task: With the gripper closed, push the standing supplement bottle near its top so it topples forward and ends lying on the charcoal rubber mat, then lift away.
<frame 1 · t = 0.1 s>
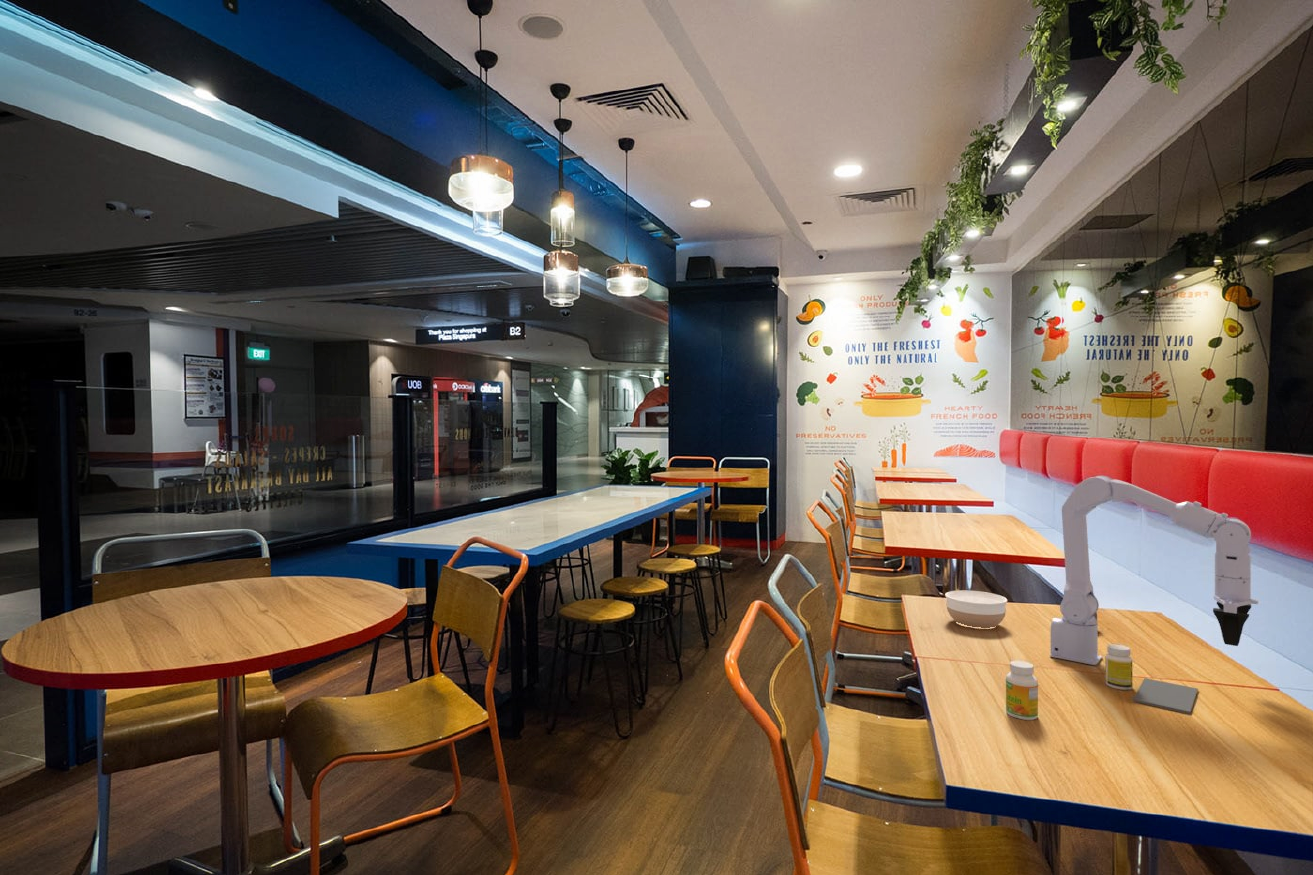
hand: (1232, 640, 139), 10 cm above the table, tool pointing down, fingers open, 7 cm apart
supplement bottle: (1118, 687, 141), on the table
supplement bottle 2: (1021, 715, 126), on the table
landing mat: (1166, 696, 135), on the table
bowl: (975, 625, 188), on the table
vase: (1082, 628, 184), on the table
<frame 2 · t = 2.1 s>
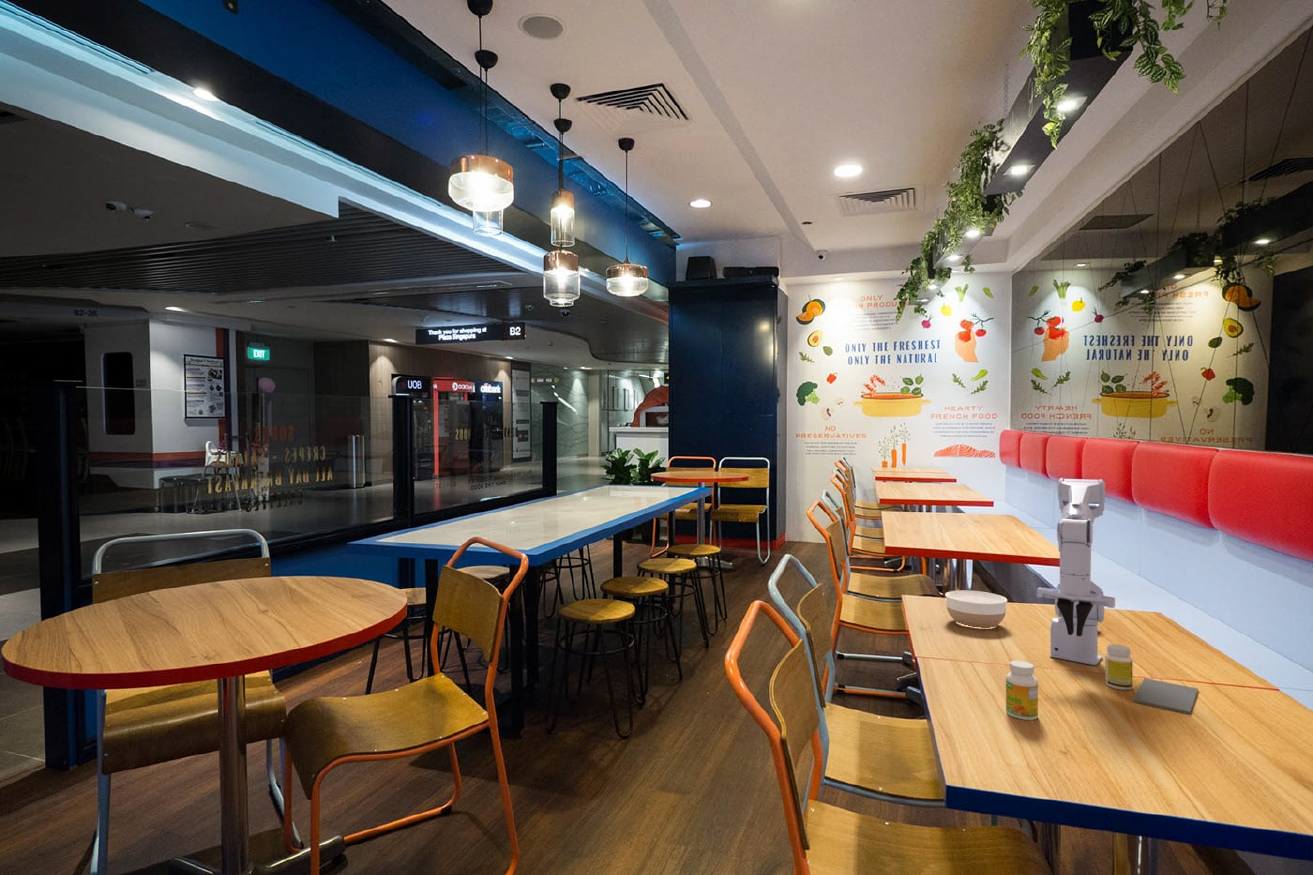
hand: (1075, 634, 146), 9 cm above the table, tool pointing down, fingers closed
nothing on the table moved.
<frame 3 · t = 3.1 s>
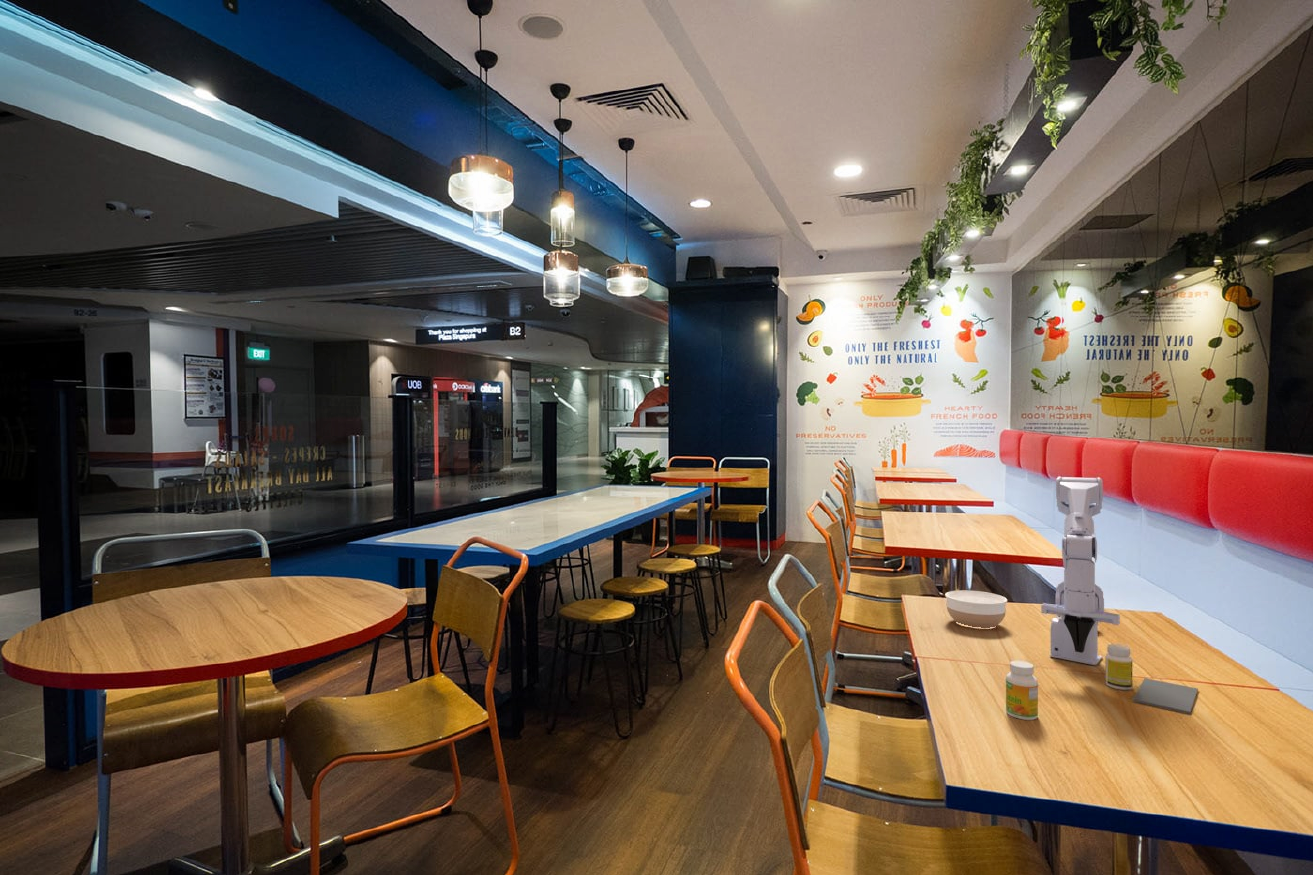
hand: (1079, 651, 146), 6 cm above the table, tool pointing down, fingers closed
nothing on the table moved.
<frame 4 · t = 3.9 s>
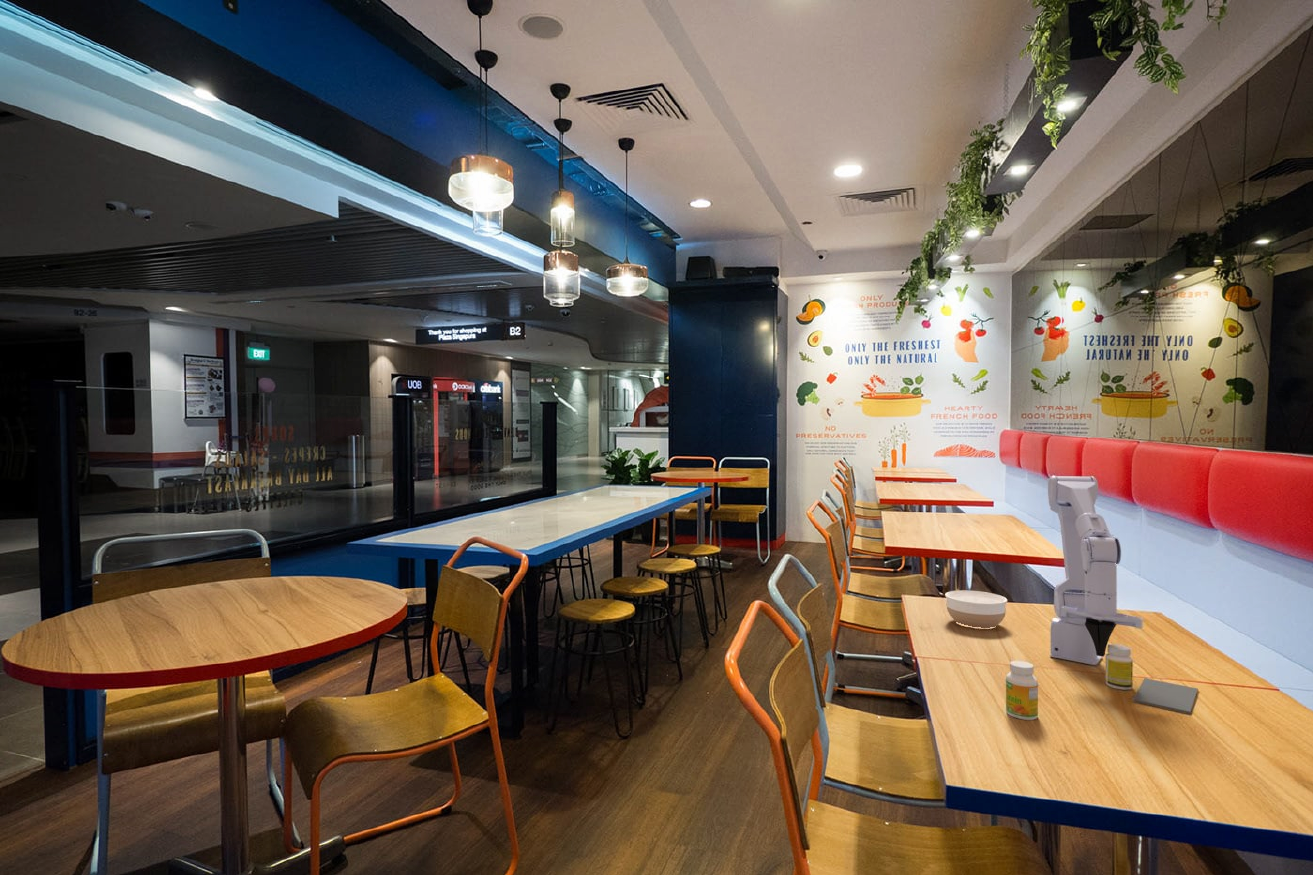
hand: (1100, 655, 143), 6 cm above the table, tool pointing down, fingers closed
supplement bottle: (1118, 687, 141), on the table, touching gripper
everything else where it was.
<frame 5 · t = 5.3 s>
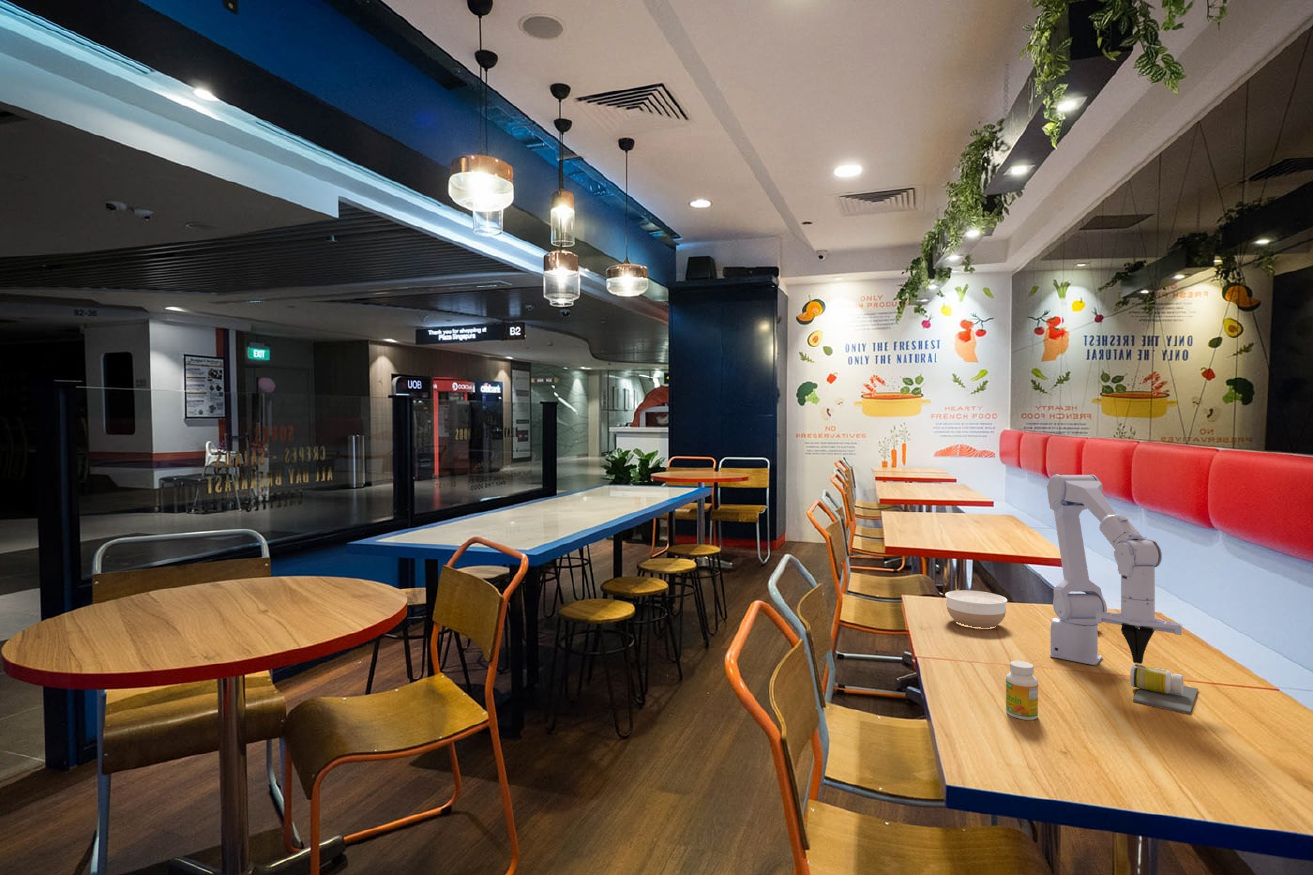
hand: (1137, 662, 138), 6 cm above the table, tool pointing down, fingers closed
supplement bottle: (1130, 674, 140), point 3 cm above the table, touching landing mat
everything else where it was.
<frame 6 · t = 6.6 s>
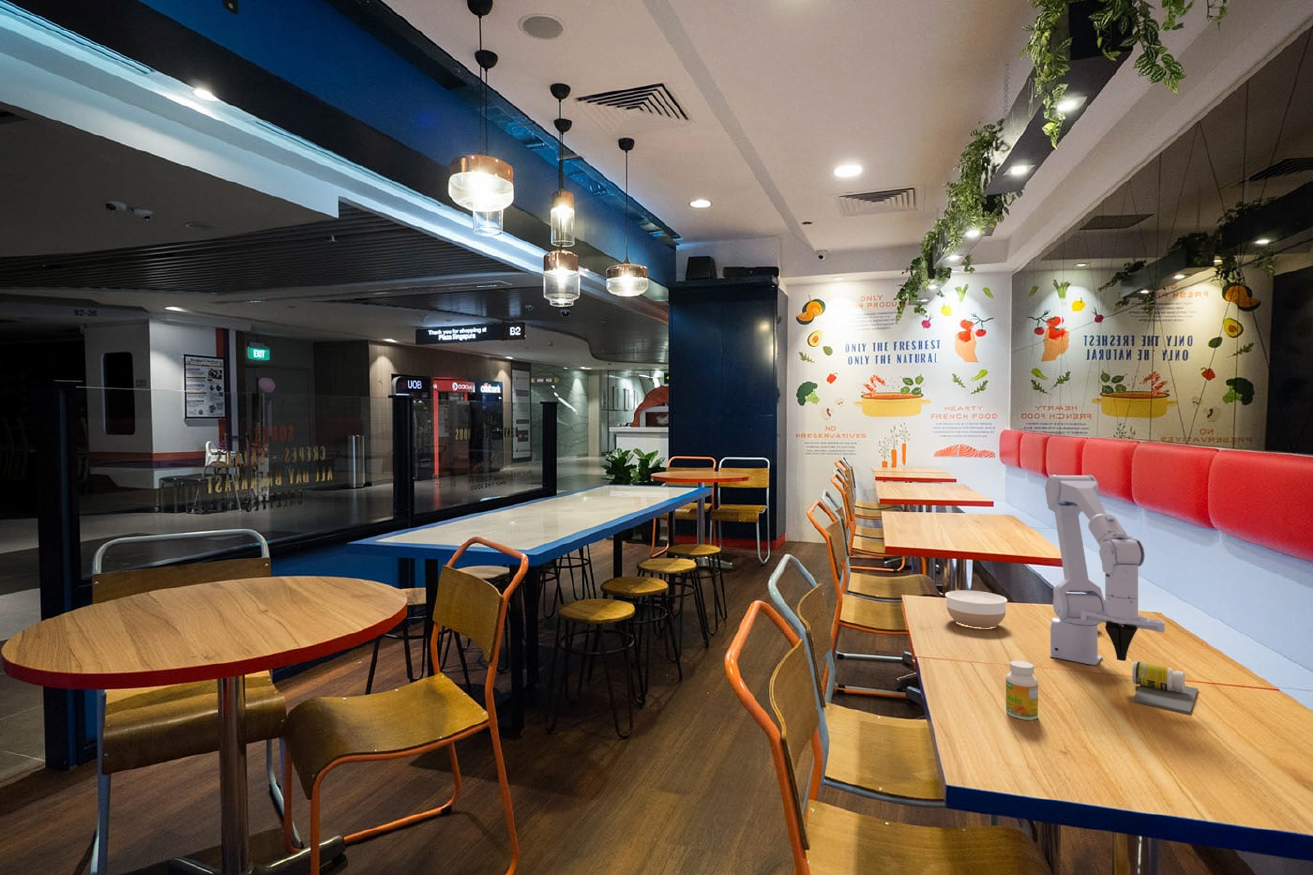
hand: (1121, 659, 140), 6 cm above the table, tool pointing down, fingers closed
supplement bottle: (1132, 672, 141), point 3 cm above the table, touching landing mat
everything else where it was.
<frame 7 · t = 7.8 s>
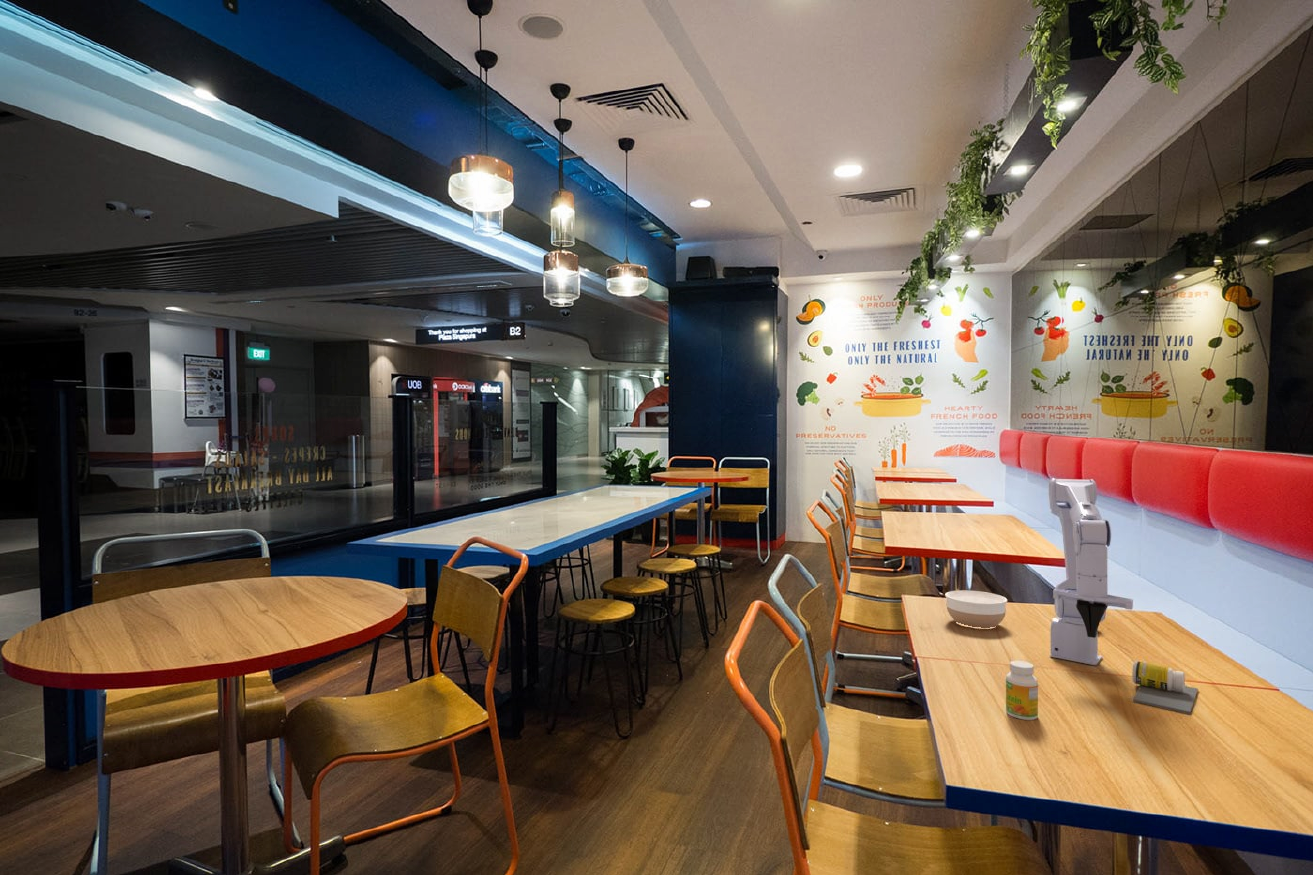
hand: (1092, 636, 145), 9 cm above the table, tool pointing down, fingers closed
nothing on the table moved.
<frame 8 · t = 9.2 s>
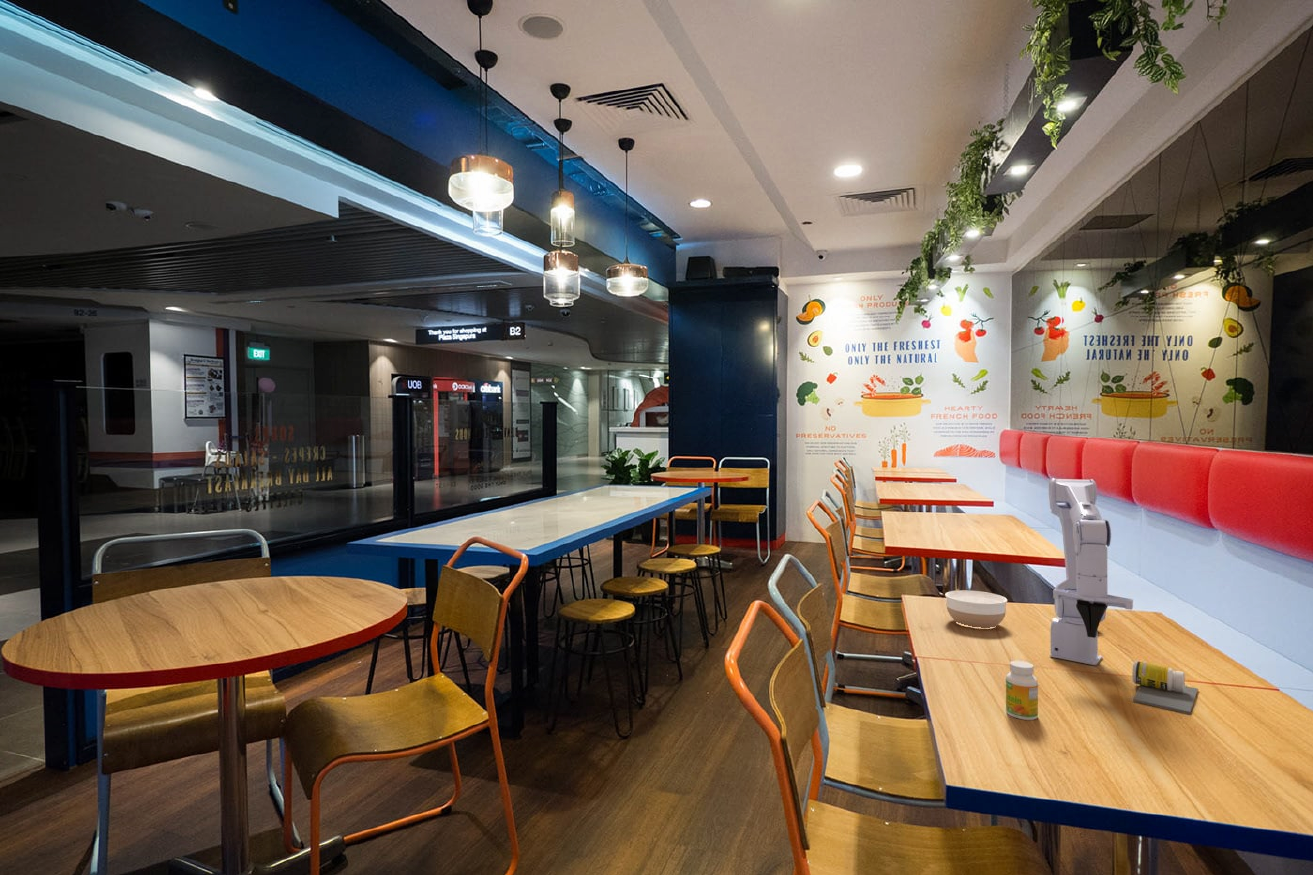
hand: (1092, 636, 145), 9 cm above the table, tool pointing down, fingers closed
nothing on the table moved.
at the end: supplement bottle tilted 90°; supplement bottle touching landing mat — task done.
